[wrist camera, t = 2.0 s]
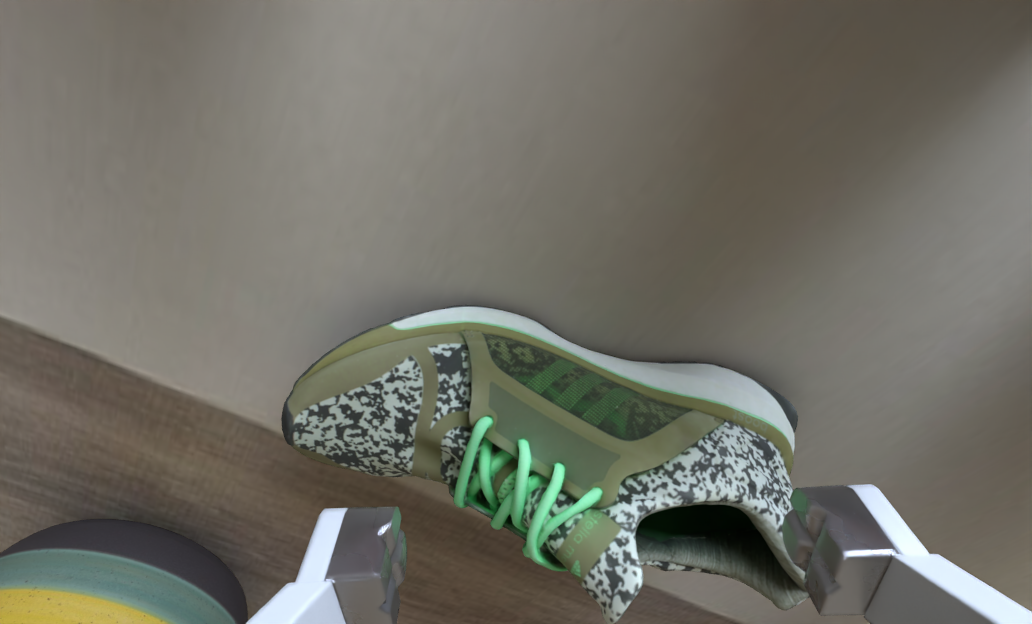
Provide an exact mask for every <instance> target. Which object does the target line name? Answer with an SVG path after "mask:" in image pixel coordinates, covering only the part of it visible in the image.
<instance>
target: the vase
mask: <svg viewBox="0 0 1032 624" xmlns="http://www.w3.org/2000/svg"><path fill="white" fill-rule="evenodd" d="M247 621H248V612H247V604H246V599H245V595H244V592H243V590H242V588H241V586H240V584H239V582H238V580H237V579H236V577H235V576H234V574H233V573H232V572H231V570H230V569H229V568H228V567H227V566H226V565H225V564H224V563H223V562H222V561H221V560H220V559H218V558H217V557H216V556H215V555H214V554H212V553H211V552H210V551H208V550H207V549H205V548H204V547H202V546H201V545H199V544H197V543H196V542H194V541H192V540H190V539H188V538H186V537H184V536H182V535H179V534H177V533H174V532H172V531H169V530H166V529H163V528H160V527H156V526H153V525H149V524H144V523H139V522H133V521H126V520H113V519H90V520H80V521H73V522H68V523H63V524H59V525H55V526H52V527H49V528H47V529H44V530H41V531H39V532H37V533H34V534H32V535H30V536H28V537H26V538H25V539H23V540H21V541H19V542H17V543H16V544H14V545H12V546H11V547H9V548H8V549H6V550H4V551H3V552H1V553H0V624H245V623H246V622H247Z"/></svg>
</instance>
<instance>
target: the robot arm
mask: <svg viewBox="0 0 1032 624" xmlns="http://www.w3.org/2000/svg"><path fill="white" fill-rule="evenodd" d="M789 501H790V503H791V504H792V506H793V509H792V510H791V511H789V512H788V513H787V514H786V515H785V516H784V520H783V524H782V534H783V541H784V545H785V548H786V551H787V553H788V555H789V557H790V559H791V561H792V563H793V564H795V565H796V566H797V567H799V568H800V569H801V570H803V571H804V572H805V577H804V581H803V584H804V586H805V588H806V590H807V592H808V594H809V596H810V598H811V600H812V601H813V603H814V605H815V607H816V609H817V611H818V613H819V615H820V616H826V615H865V616H864V618H865V619H866V620H867V621H869V622H870V623H871V624H1032V612H1031V611H1029V610H1028V609H1026V608H1024V607H1023V606H1021V605H1019V604H1018V603H1016V602H1015V601H1013V600H1011V599H1010V598H1008V597H1007V596H1005V595H1003V594H1002V593H1000V592H998V591H997V590H995V589H994V588H992V587H990V586H989V585H987V584H985V583H984V582H982V581H981V580H979V579H977V578H976V577H974V576H973V575H971V574H969V573H968V572H966V571H964V570H963V569H961V568H960V567H958V566H956V565H955V564H953V563H951V562H950V561H948V560H947V559H945V558H943V557H942V556H940V555H939V554H929V553H928V551H927V550H926V549H925V547H924V546H923V545H922V544H921V542H920V541H919V540H918V538H917V537H916V536H915V535H914V533H913V532H912V531H911V530H910V528H909V527H908V526H907V524H906V523H905V522H904V521H903V519H902V518H901V517H900V515H899V514H898V513H897V512H896V510H895V509H894V508H893V506H892V505H891V504H890V503H889V501H888V500H887V499H886V498H885V496H884V495H883V494H882V492H881V491H880V490H879V489H878V488H877V487H875V486H874V485H872V484H866V485H846V486H844V485H836V486H819V487H802V488H796V489H795V490H794V491H793V492H792V494H791V497H790V500H789ZM400 523H401V514H400V510H399V507H355V508H325V509H324V510H323V511H322V512H321V514H320V515H319V517H318V520H317V522H316V525H315V528H314V531H313V534H312V536H311V539H310V542H309V545H308V548H307V550H306V553H305V556H304V559H303V561H302V564H301V567H300V570H299V573H298V575H297V578H296V581H295V582H294V583H287V584H286V585H285V586H284V587H283V588H282V589H281V590H280V591H279V592H278V593H277V594H276V595H275V596H273V597H272V598H271V599H270V600H269V601H268V602H267V603H266V604H265V605H264V606H263V607H262V608H261V609H260V610H259V611H258V612H257V613H256V614H255V615H254V616H253V617H252V618H251V619H250V620H249V621H247V622H246V623H245V624H397V619H398V613H399V607H400V602H401V601H400V597H399V593H398V587H399V585H400V584H401V583H402V582H403V581H404V578H405V571H406V562H407V544H406V537H405V532H403V531H402V530H401V529H399V528H400Z"/></svg>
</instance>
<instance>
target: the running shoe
mask: <svg viewBox="0 0 1032 624" xmlns="http://www.w3.org/2000/svg"><path fill="white" fill-rule="evenodd" d="M797 422H798V416H797V412H796V410H795V408H794V407H793V406H792V404H791V403H790V402H789V401H788V400H786V399H785V398H784V397H783V396H781V395H780V394H778V393H777V392H775V391H774V390H772V389H770V388H769V387H767V386H765V385H763V384H761V383H759V382H757V381H756V380H754V379H752V378H749V377H747V376H745V375H744V374H741V373H739V372H736V371H733V370H730V369H726V368H723V366H720V365H714V364H711V363H702V364H699V363H697V362H672V363H666V362H660V363H650V362H636V361H629V360H625V359H619V358H616V357H613V356H609V355H604V354H601V353H598V352H595V351H590V350H588V349H586V348H583V347H580V346H578V345H576V344H573V343H571V342H568V341H567V340H565V339H563V338H561V337H559V336H558V335H556V334H555V333H553V332H552V331H551V330H550V329H548V328H547V327H545V326H544V325H542V324H541V323H538V322H537V321H535V320H533V319H531V318H528V317H524V316H522V315H518V314H514V313H510V312H506V311H502V310H500V309H495V308H489V307H482V306H468V305H466V306H451V307H447V308H446V309H441V310H435V311H431V312H427V313H424V312H423V313H417V314H411V315H409V316H404V317H401V318H398V319H395V320H393V321H392V322H390V323H387V324H384V325H381V326H378V327H376V328H372V329H369V330H366V331H364V332H362V333H360V334H358V335H356V336H354V337H352V338H350V339H348V340H346V341H345V342H343V343H341V344H340V345H338V346H337V347H335V348H334V349H332V350H331V351H329V352H328V353H326V354H325V355H323V356H322V357H321V358H320V359H319V360H318V361H316V362H315V363H314V364H312V365H311V366H310V368H309V369H308V370H307V371H305V372H304V373H303V374H302V375H301V376H300V377H299V379H298V380H297V381H296V382H295V384H294V386H293V390H292V391H291V393H290V395H289V396H288V398H287V399H286V401H285V403H284V407H283V412H282V431H283V433H284V437H285V439H286V441H287V443H288V444H289V445H291V446H292V447H293V448H294V449H295V450H297V451H298V452H300V453H301V454H303V455H305V456H307V457H309V458H311V459H313V460H316V461H319V462H322V463H325V464H328V465H331V466H335V467H340V468H344V469H349V470H354V471H359V472H362V473H366V474H369V475H375V476H388V477H404V476H417V477H421V478H424V479H428V480H433V481H437V482H441V483H444V484H447V485H448V486H449V493H450V494H451V496H452V497H453V498H454V504H455V505H456V506H457V507H459V508H465V507H467V506H470V507H472V508H473V509H475V510H477V511H479V512H480V513H482V514H484V515H485V516H487V517H489V518H491V519H492V520H491V522H490V524H491V526H492V527H493V528H494V529H497V530H499V529H501V528H502V527H505V528H507V529H508V530H510V531H511V532H513V533H515V534H516V535H518V536H519V537H521V538H523V539H524V540H525V541H526V542H525V544H524V545H523V549H522V550H523V553H524V555H525V556H526V557H527V558H531V559H532V560H533V561H534V562H535V563H537V564H539V565H542V566H544V567H546V568H548V569H550V570H554V571H567V570H568V571H569V572H570V573H571V574H572V575H573V576H574V577H575V579H576V580H577V581H578V582H579V583H580V584H581V586H582V587H583V588H584V589H585V590H586V591H587V593H588V594H589V595H590V596H591V597H593V598H594V599H595V600H596V601H597V602H598V604H599V605H600V607H601V611H602V615H603V618H604V620H605V622H606V623H607V624H614V623H616V622H617V621H618V620H619V619H620V618H621V617H622V616H623V614H624V613H625V611H626V609H627V608H628V607H629V605H630V604H631V602H632V601H633V600H634V598H635V597H636V596H637V594H638V593H639V591H640V590H641V588H642V586H643V571H642V566H641V565H650V566H652V567H655V568H658V569H660V570H663V571H672V570H680V571H693V572H705V573H709V574H717V575H722V576H726V577H729V578H732V579H735V580H737V581H740V582H742V583H744V584H746V585H748V586H750V587H751V588H753V589H755V590H756V591H758V592H759V593H761V594H762V595H764V596H765V597H766V598H768V599H769V600H771V601H772V602H773V604H774V605H775V606H776V607H778V608H779V609H781V610H788V609H791V608H792V607H794V606H796V605H798V604H799V603H801V602H803V601H804V600H806V599H807V598H809V597H810V596H809V594H808V592H807V590H806V588H805V586H804V584H803V581H804V577H805V572H804V571H803V570H801V569H800V568H799V567H797V566H796V565H795V564H793V563H792V561H791V559H790V557H789V555H788V553H787V551H786V548H785V545H784V541H783V534H782V524H783V520H784V516H785V515H786V514H787V513H788V512H789V511H791V510H792V509H793V506H792V504H791V503H790V501H789V500H790V497H791V494H792V492H793V489H792V485H791V482H790V479H789V475H790V473H791V469H792V466H793V452H794V448H795V443H794V433H795V430H796V427H797Z"/></svg>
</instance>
